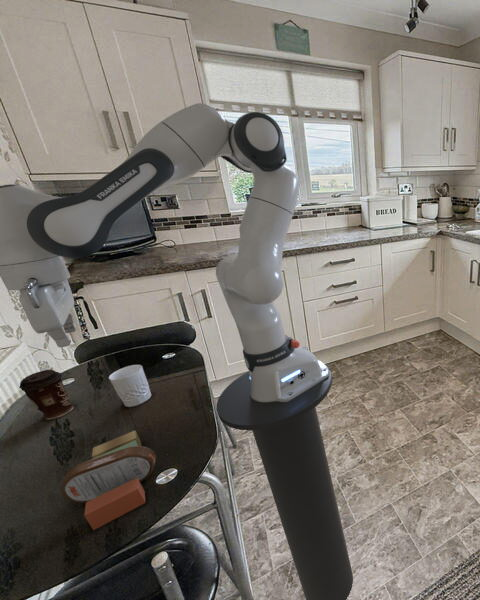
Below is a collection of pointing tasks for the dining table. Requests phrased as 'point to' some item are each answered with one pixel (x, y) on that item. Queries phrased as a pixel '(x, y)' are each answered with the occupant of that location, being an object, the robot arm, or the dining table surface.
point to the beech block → (115, 444)
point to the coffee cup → (47, 393)
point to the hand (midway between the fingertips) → (68, 338)
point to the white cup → (131, 385)
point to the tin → (107, 473)
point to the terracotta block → (114, 503)
